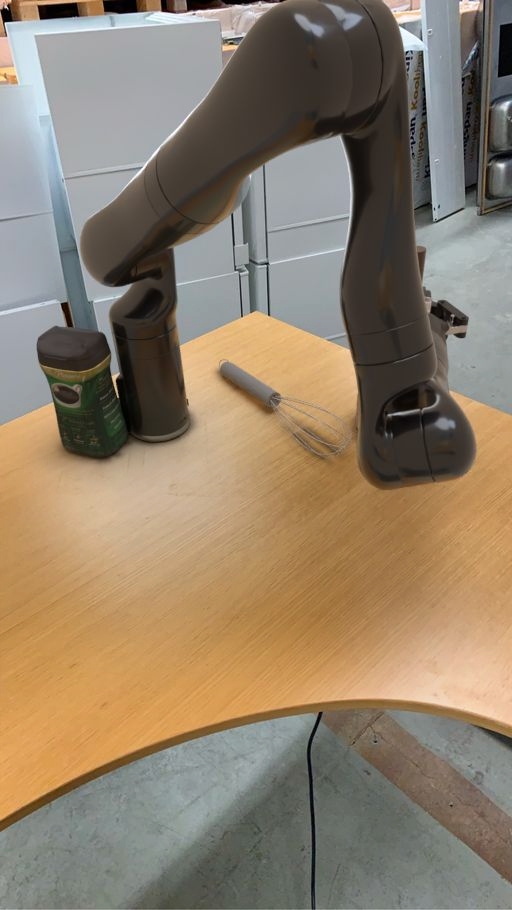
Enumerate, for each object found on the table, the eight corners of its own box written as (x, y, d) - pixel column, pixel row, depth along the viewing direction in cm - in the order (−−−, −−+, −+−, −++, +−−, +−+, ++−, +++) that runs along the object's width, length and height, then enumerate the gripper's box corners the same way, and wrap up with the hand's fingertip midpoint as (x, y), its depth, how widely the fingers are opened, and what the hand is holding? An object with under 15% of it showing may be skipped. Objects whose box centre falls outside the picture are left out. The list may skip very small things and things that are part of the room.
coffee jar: (136, 433, 101) (115, 324, 89) (109, 464, 95) (83, 351, 84) (84, 422, 104) (57, 315, 93) (54, 451, 98) (21, 340, 87)
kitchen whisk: (234, 364, 116) (231, 332, 112) (359, 459, 94) (362, 423, 90) (204, 375, 114) (200, 342, 110) (326, 475, 91) (327, 439, 87)
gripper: (483, 330, 69) (469, 266, 82) (350, 324, 71) (358, 263, 85) (471, 390, 73) (461, 321, 87) (347, 383, 76) (355, 316, 89)
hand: (410, 293), depth 86 cm, fingers closed
